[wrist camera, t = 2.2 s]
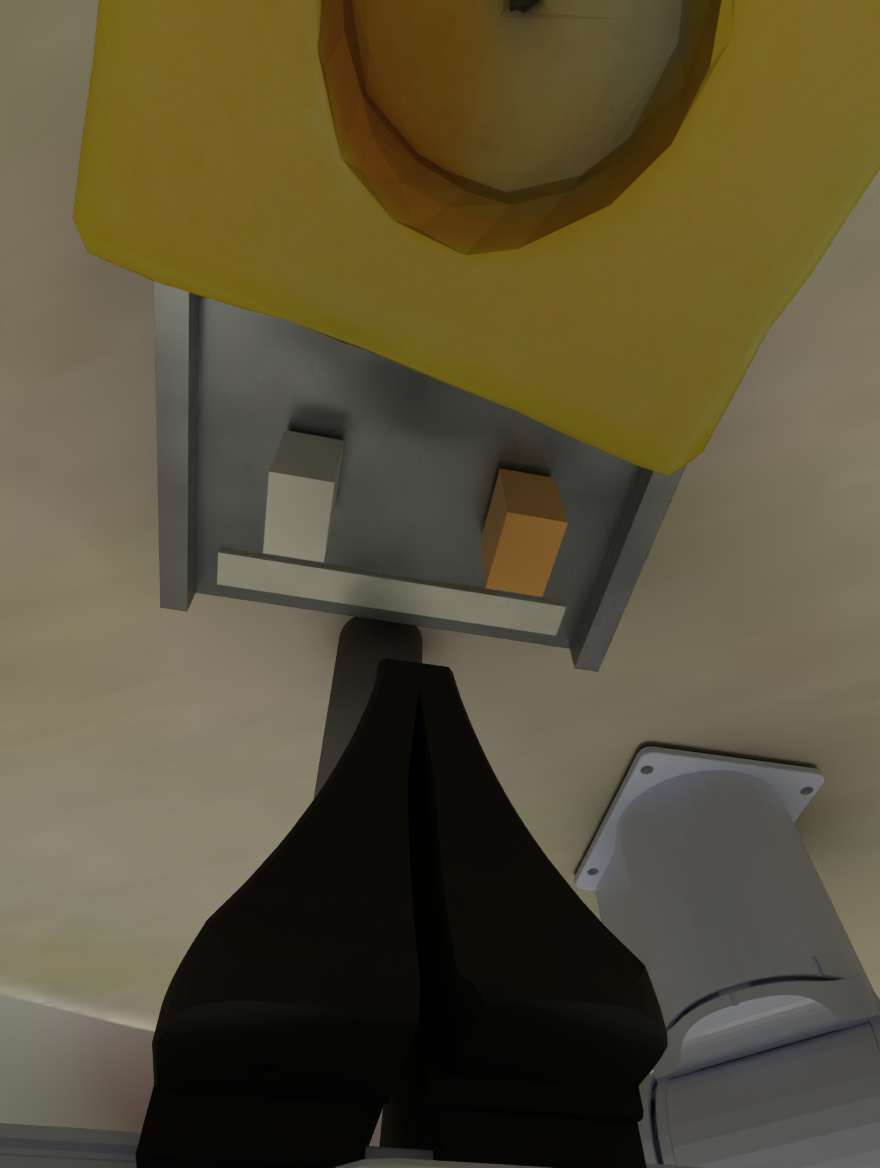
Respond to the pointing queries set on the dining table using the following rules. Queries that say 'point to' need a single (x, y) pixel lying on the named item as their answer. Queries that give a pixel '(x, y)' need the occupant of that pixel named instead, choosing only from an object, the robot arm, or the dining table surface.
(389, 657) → the post
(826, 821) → the dining table surface
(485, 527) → the tan rectangular prism
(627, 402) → the candle
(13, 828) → the dining table surface
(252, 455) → the grey tray
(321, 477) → the upright cream block
